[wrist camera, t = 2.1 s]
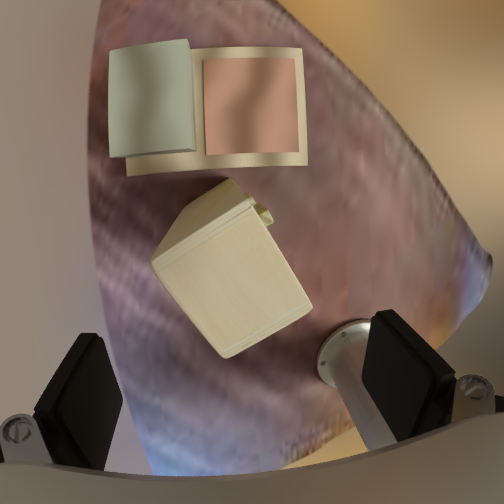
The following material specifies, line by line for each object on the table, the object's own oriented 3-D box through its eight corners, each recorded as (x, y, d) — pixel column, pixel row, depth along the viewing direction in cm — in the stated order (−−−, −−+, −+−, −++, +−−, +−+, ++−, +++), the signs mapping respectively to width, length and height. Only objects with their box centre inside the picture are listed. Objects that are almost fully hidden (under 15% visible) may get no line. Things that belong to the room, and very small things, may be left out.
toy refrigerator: (271, 229, 38) (325, 304, 18) (220, 260, 39) (221, 363, 19) (236, 173, 36) (257, 187, 16) (184, 206, 36) (141, 261, 16)
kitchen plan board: (295, 56, 32) (323, 22, 22) (301, 164, 36) (332, 167, 26) (131, 65, 31) (101, 34, 20) (134, 175, 35) (101, 181, 24)
